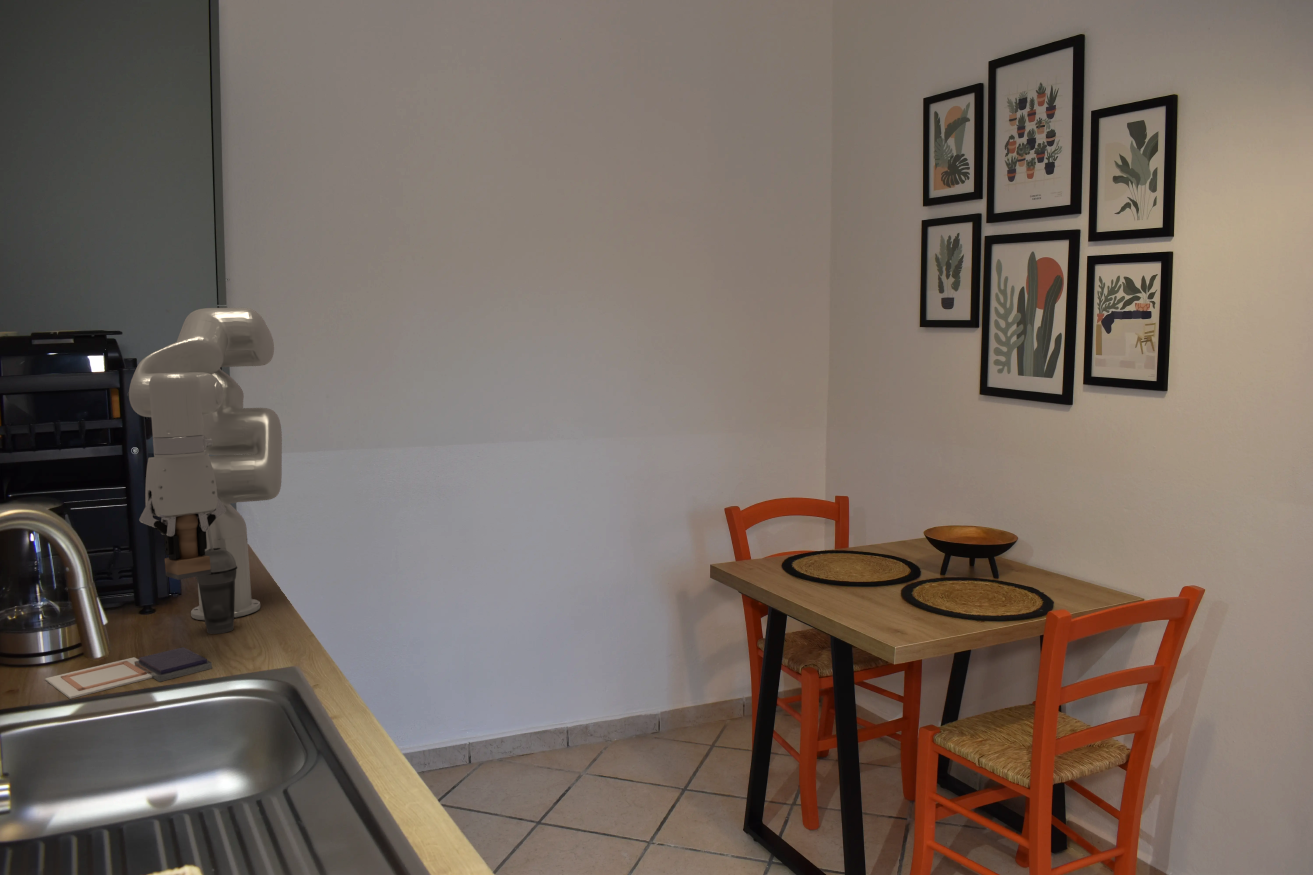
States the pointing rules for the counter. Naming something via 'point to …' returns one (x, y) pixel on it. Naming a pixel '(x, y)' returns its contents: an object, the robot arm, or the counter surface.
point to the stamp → (187, 551)
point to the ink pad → (173, 664)
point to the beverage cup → (218, 590)
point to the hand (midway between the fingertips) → (186, 555)
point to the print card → (98, 678)
